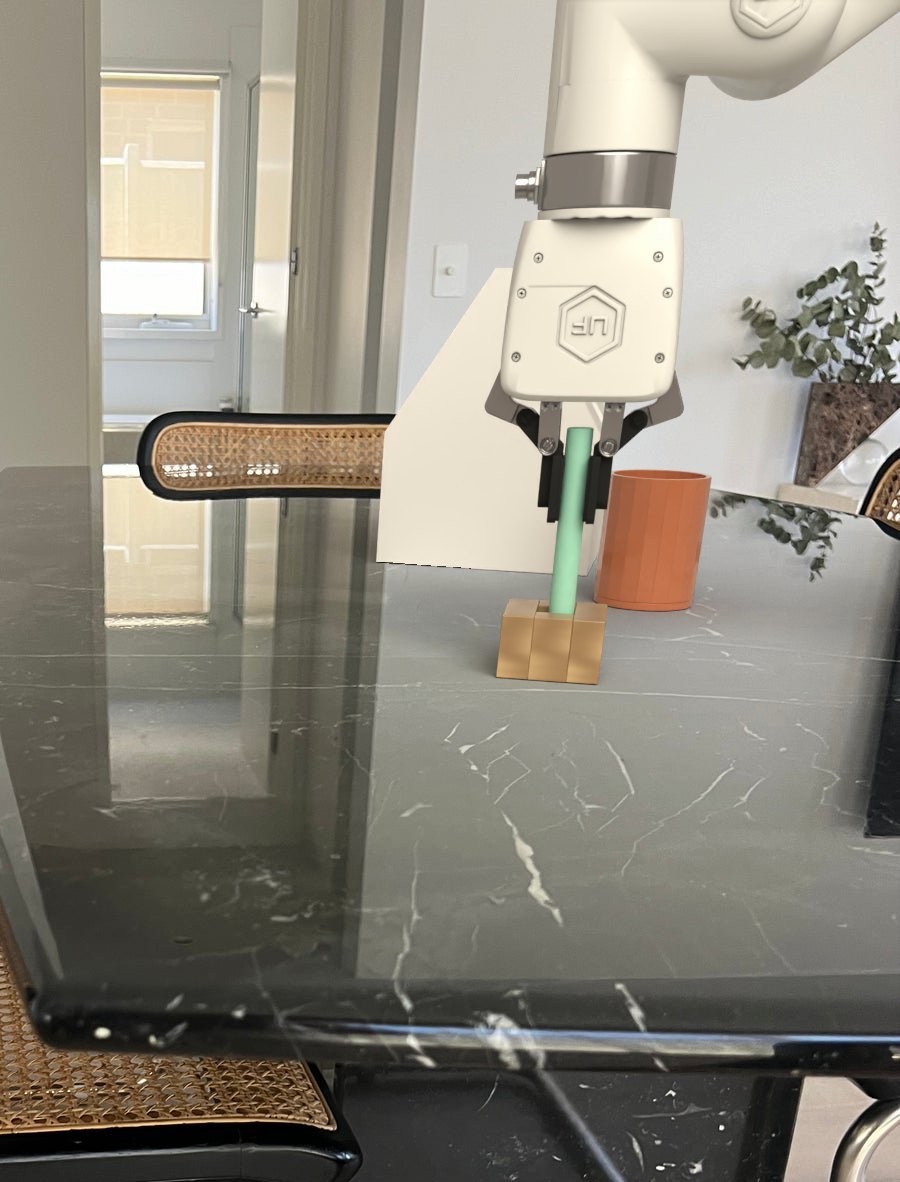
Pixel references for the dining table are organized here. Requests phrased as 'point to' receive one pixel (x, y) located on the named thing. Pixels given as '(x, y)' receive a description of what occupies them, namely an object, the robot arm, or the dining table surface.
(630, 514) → the cup
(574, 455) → the straw
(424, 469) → the white house shaped block
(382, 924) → the dining table surface
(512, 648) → the straw holder
